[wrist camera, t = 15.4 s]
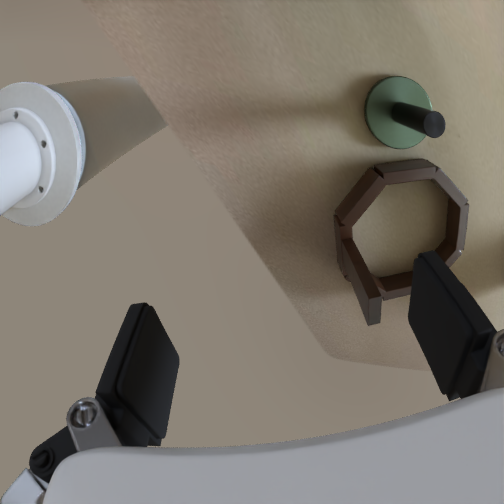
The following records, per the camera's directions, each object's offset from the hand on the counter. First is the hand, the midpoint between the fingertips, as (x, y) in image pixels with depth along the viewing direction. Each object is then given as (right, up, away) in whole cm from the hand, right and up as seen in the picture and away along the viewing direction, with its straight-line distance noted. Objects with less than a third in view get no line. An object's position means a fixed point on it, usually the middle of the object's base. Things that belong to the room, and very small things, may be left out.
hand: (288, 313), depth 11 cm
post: (+14, +17, +18) cm, 29 cm away
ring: (+17, +5, +25) cm, 31 cm away
